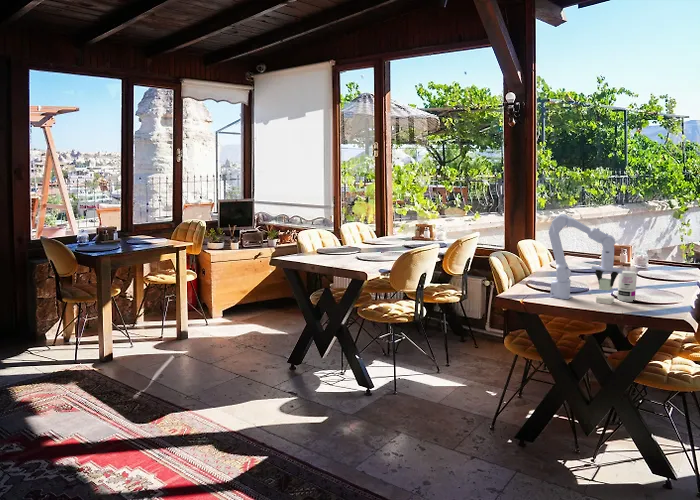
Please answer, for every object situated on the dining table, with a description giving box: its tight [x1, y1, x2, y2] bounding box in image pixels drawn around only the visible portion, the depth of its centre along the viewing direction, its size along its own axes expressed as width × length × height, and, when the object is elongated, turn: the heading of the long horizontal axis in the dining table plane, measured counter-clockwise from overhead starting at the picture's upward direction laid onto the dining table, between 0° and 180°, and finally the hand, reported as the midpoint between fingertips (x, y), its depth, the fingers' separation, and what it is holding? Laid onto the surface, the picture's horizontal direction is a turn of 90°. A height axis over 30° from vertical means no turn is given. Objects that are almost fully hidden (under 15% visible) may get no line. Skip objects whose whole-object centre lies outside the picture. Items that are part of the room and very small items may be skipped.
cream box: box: [595, 294, 615, 305], centre depth 295 cm, size 7×7×3 cm
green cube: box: [598, 277, 613, 291], centre depth 294 cm, size 5×5×5 cm
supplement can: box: [616, 270, 638, 303], centre depth 297 cm, size 8×8×15 cm
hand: (605, 285), depth 294 cm, fingers closed on green cube, 5 cm apart
